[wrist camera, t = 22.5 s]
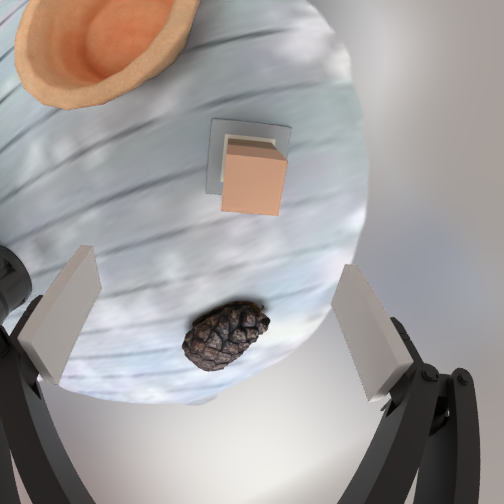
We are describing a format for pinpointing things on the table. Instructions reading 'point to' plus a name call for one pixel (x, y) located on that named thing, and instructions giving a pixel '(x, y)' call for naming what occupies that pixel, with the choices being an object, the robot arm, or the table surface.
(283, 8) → the table surface
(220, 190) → the pad
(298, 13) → the table surface
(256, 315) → the pine cone
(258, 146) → the walnut cube
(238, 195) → the terracotta cube
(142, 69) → the pottery
